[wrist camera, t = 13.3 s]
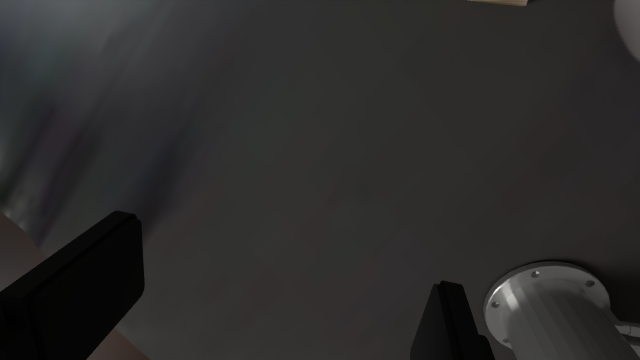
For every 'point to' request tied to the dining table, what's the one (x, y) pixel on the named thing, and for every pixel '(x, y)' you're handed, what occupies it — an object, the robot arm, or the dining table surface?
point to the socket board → (505, 2)
